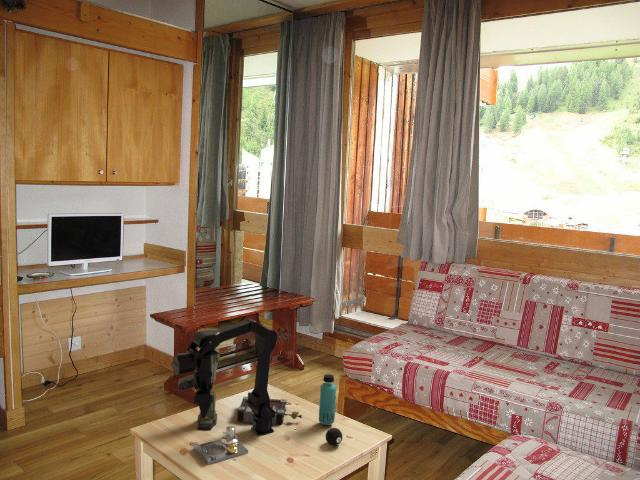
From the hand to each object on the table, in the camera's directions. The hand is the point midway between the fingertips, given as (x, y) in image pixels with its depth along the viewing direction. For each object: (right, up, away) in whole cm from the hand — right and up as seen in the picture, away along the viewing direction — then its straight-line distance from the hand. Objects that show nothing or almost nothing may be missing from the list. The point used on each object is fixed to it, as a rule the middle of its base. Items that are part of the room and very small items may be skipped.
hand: (203, 411), depth 189 cm
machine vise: (+21, -12, +29) cm, 38 cm away
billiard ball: (+45, -15, +9) cm, 48 cm away
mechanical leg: (-3, -11, +21) cm, 24 cm away
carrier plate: (+6, -14, 0) cm, 15 cm away
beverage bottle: (+43, -13, +24) cm, 51 cm away
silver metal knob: (+8, -12, +4) cm, 16 cm away
